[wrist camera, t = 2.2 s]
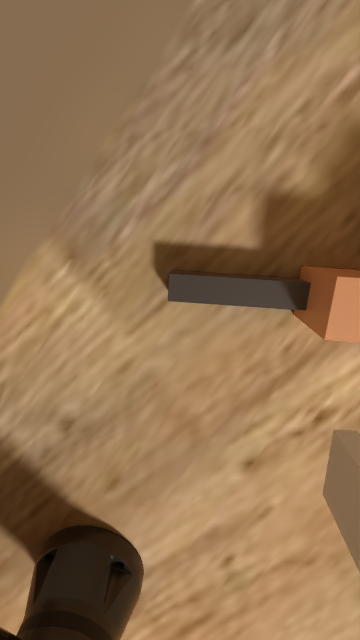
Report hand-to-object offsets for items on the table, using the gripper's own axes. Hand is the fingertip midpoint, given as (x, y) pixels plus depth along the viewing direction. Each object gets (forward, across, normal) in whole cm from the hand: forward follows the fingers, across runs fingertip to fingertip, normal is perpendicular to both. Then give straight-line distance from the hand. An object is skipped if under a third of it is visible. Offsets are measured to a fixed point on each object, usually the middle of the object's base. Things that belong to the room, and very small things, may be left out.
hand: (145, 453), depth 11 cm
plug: (+22, +8, +2) cm, 23 cm away
